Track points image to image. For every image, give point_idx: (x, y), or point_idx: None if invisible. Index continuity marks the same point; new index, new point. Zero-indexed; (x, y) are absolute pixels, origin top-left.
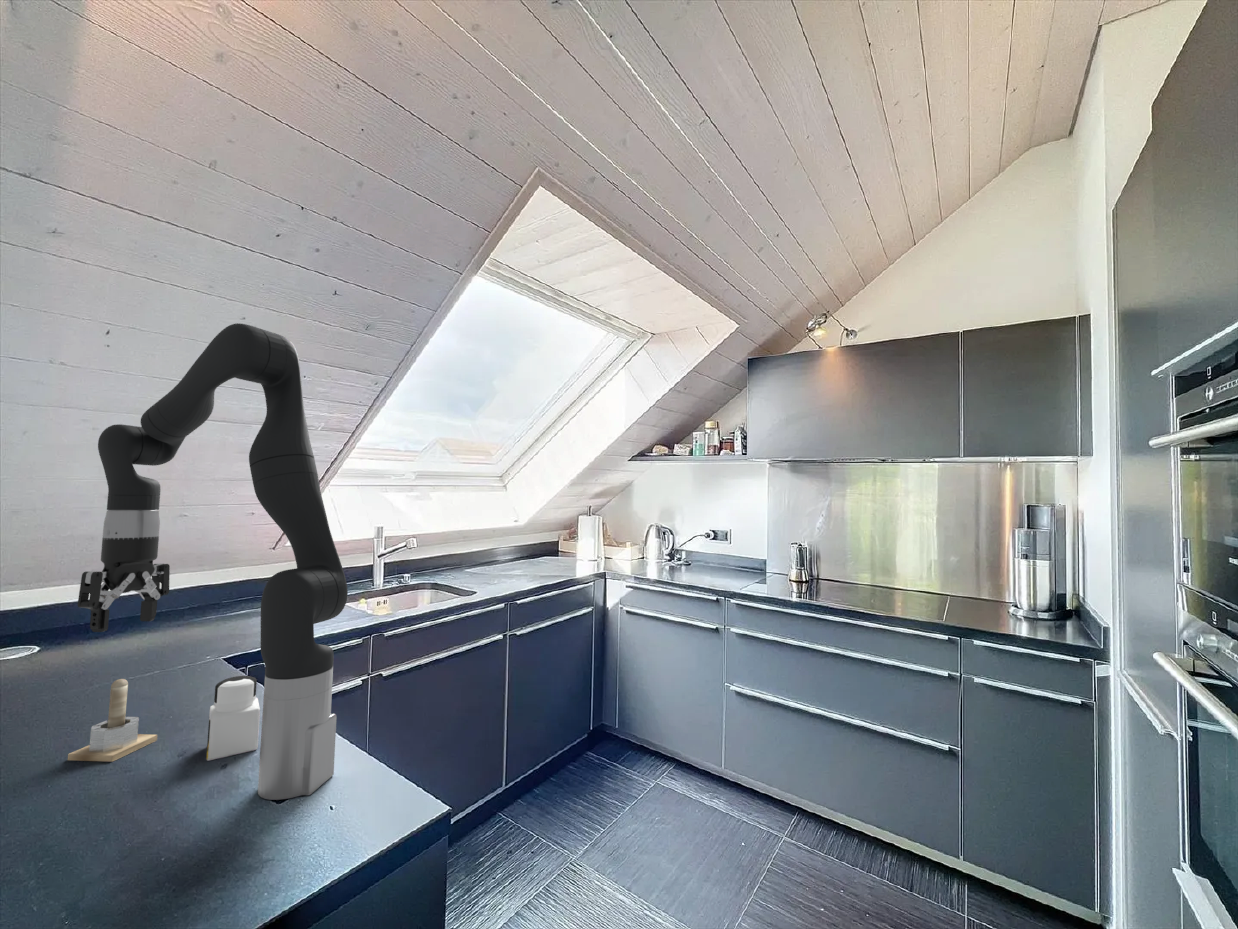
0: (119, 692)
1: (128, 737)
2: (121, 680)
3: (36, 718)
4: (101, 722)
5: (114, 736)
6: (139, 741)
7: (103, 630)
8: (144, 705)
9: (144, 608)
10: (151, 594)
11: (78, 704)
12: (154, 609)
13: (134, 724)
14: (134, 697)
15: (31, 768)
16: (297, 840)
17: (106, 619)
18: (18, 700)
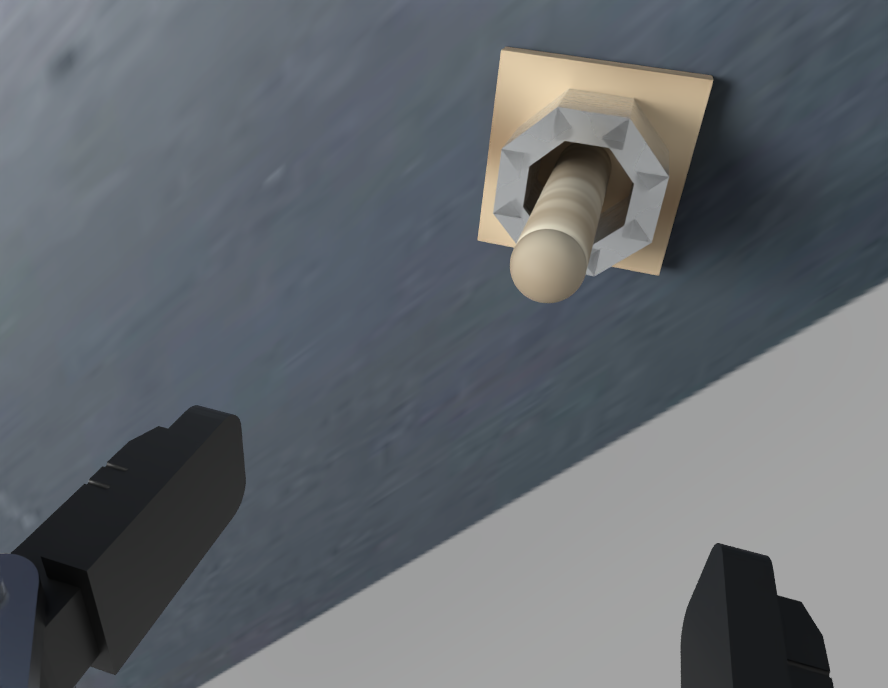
0: (580, 232)
1: (610, 101)
2: (551, 265)
3: (324, 559)
4: None
5: (649, 139)
6: (570, 77)
7: (765, 559)
8: (198, 346)
9: (164, 569)
10: (28, 671)
11: None
12: (132, 477)
13: (579, 108)
14: (148, 420)
15: (705, 336)
16: None
17: (762, 657)
18: (223, 657)
